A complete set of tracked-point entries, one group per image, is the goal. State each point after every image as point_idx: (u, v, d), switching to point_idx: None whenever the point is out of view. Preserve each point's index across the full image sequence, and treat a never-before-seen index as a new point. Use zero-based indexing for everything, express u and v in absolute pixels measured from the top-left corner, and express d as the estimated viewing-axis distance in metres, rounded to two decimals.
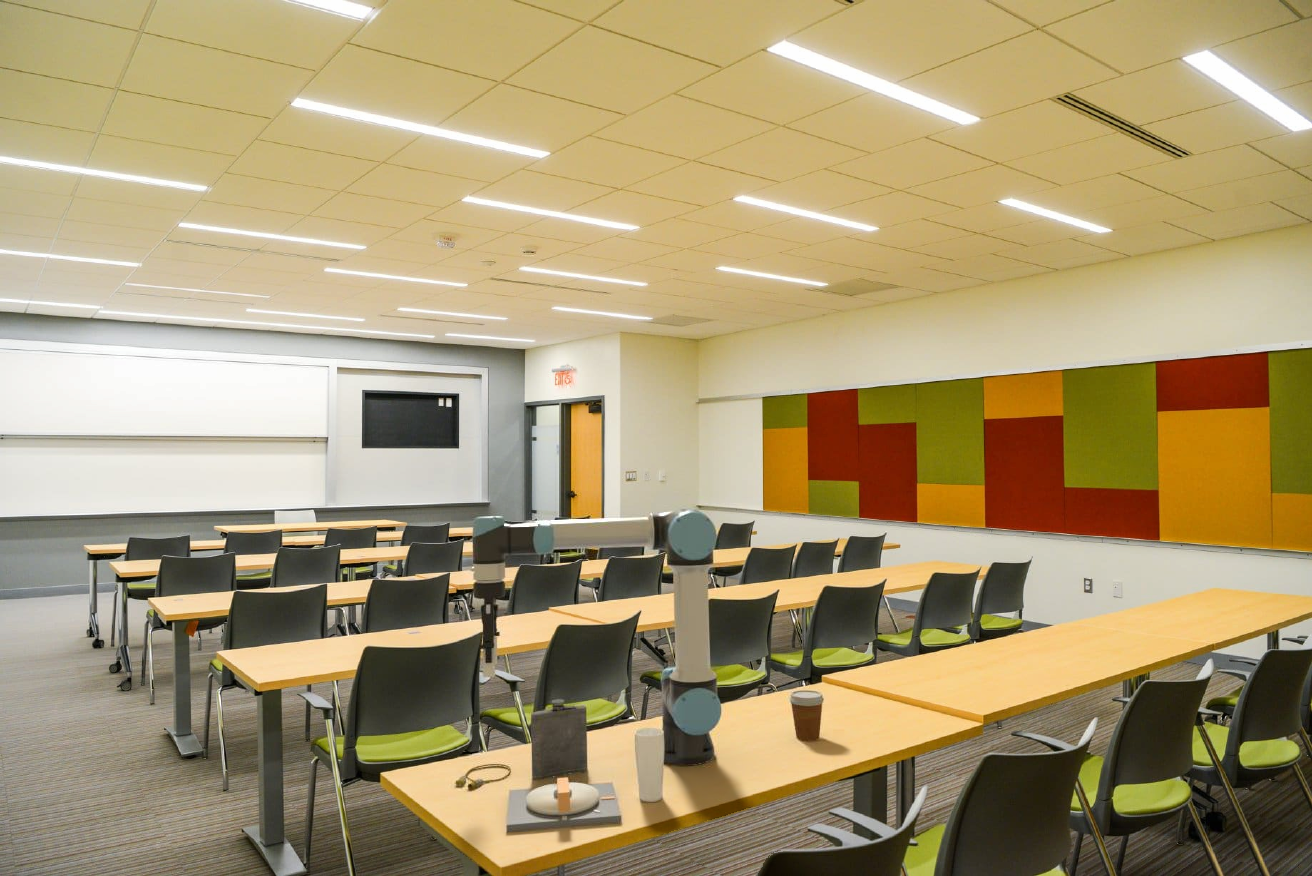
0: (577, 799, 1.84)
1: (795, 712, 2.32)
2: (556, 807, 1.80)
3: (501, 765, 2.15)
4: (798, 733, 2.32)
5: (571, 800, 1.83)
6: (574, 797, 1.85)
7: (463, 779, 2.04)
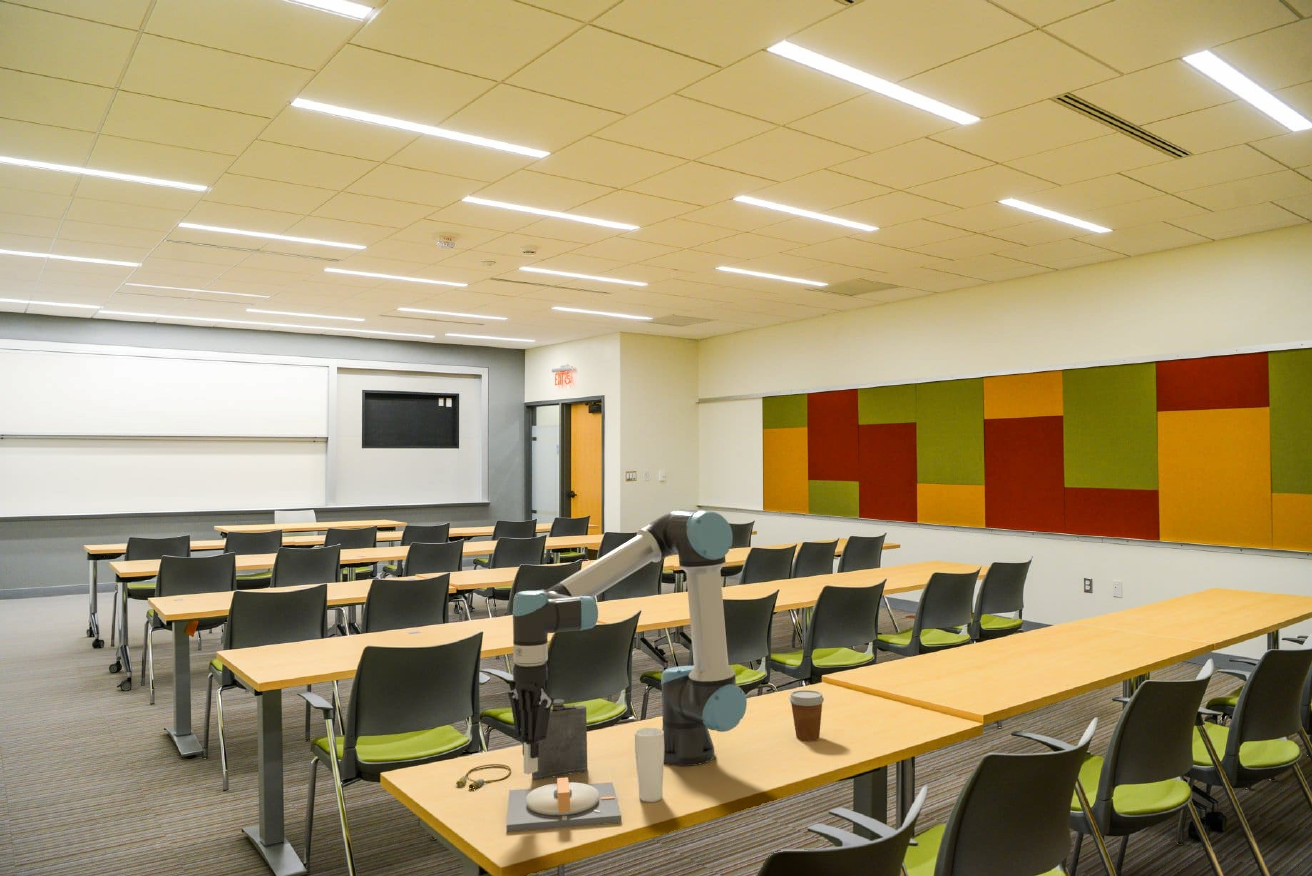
0: (577, 799, 1.84)
1: (795, 712, 2.32)
2: (556, 807, 1.80)
3: (501, 765, 2.15)
4: (798, 733, 2.32)
5: (571, 800, 1.83)
6: (574, 797, 1.85)
7: (464, 779, 2.04)
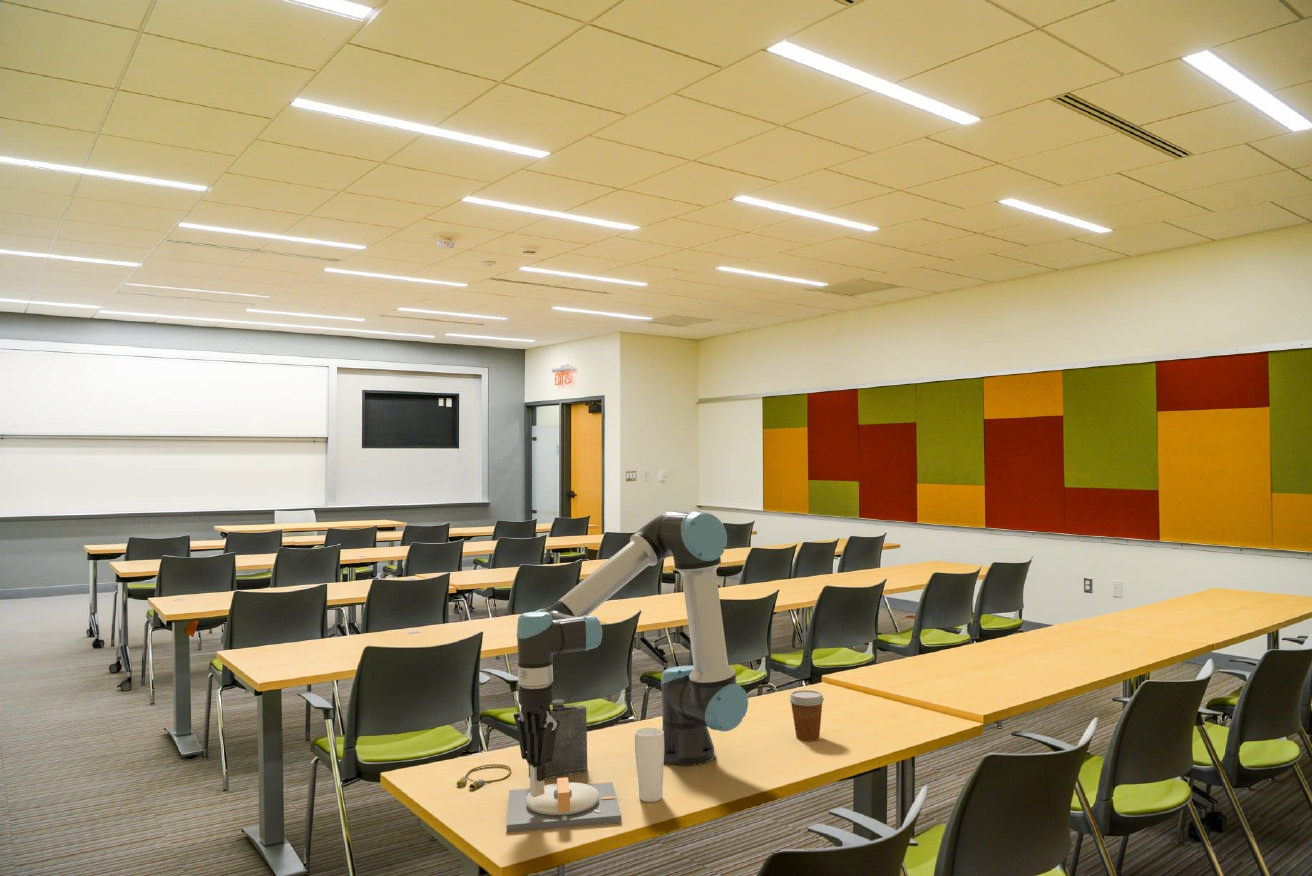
0: (577, 799, 1.84)
1: (795, 712, 2.32)
2: (556, 807, 1.80)
3: (501, 765, 2.15)
4: (798, 733, 2.32)
5: (571, 800, 1.83)
6: (574, 797, 1.85)
7: (464, 780, 2.03)
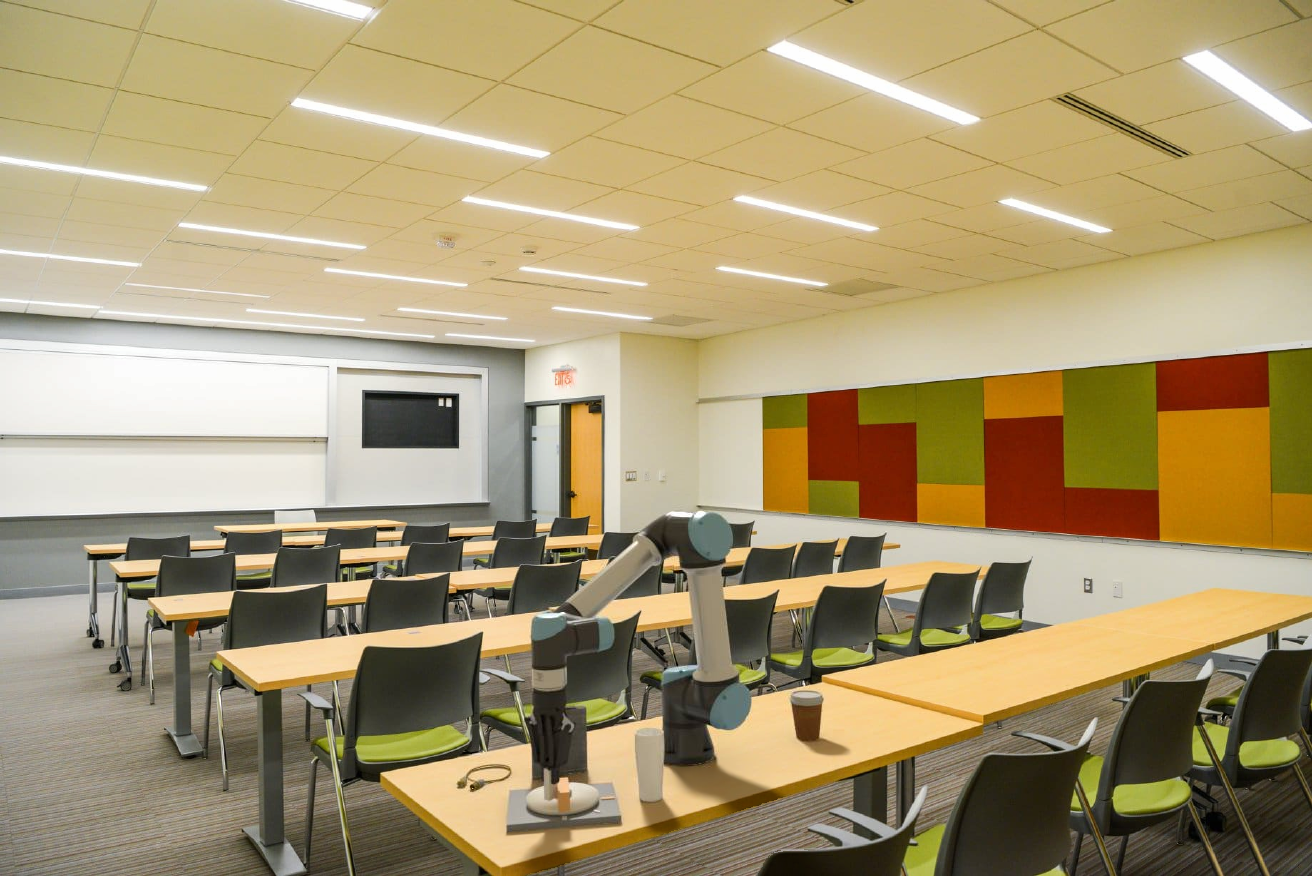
0: (577, 799, 1.84)
1: (795, 712, 2.32)
2: (556, 807, 1.80)
3: (501, 765, 2.15)
4: (798, 733, 2.32)
5: (571, 800, 1.83)
6: (574, 797, 1.85)
7: (464, 780, 2.03)
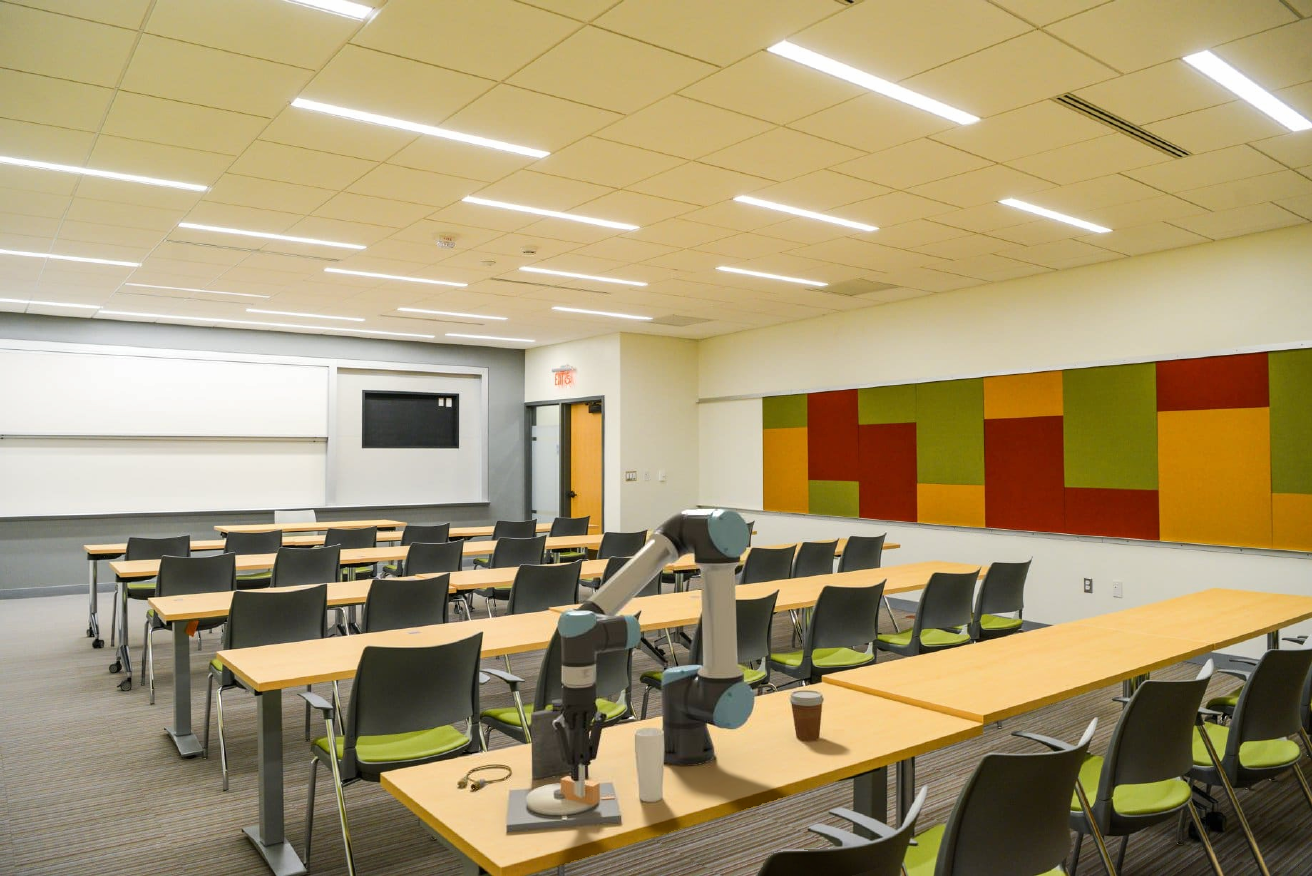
0: None
1: (795, 712, 2.32)
2: (581, 803, 1.82)
3: (501, 765, 2.15)
4: (798, 733, 2.32)
5: None
6: None
7: (465, 780, 2.03)
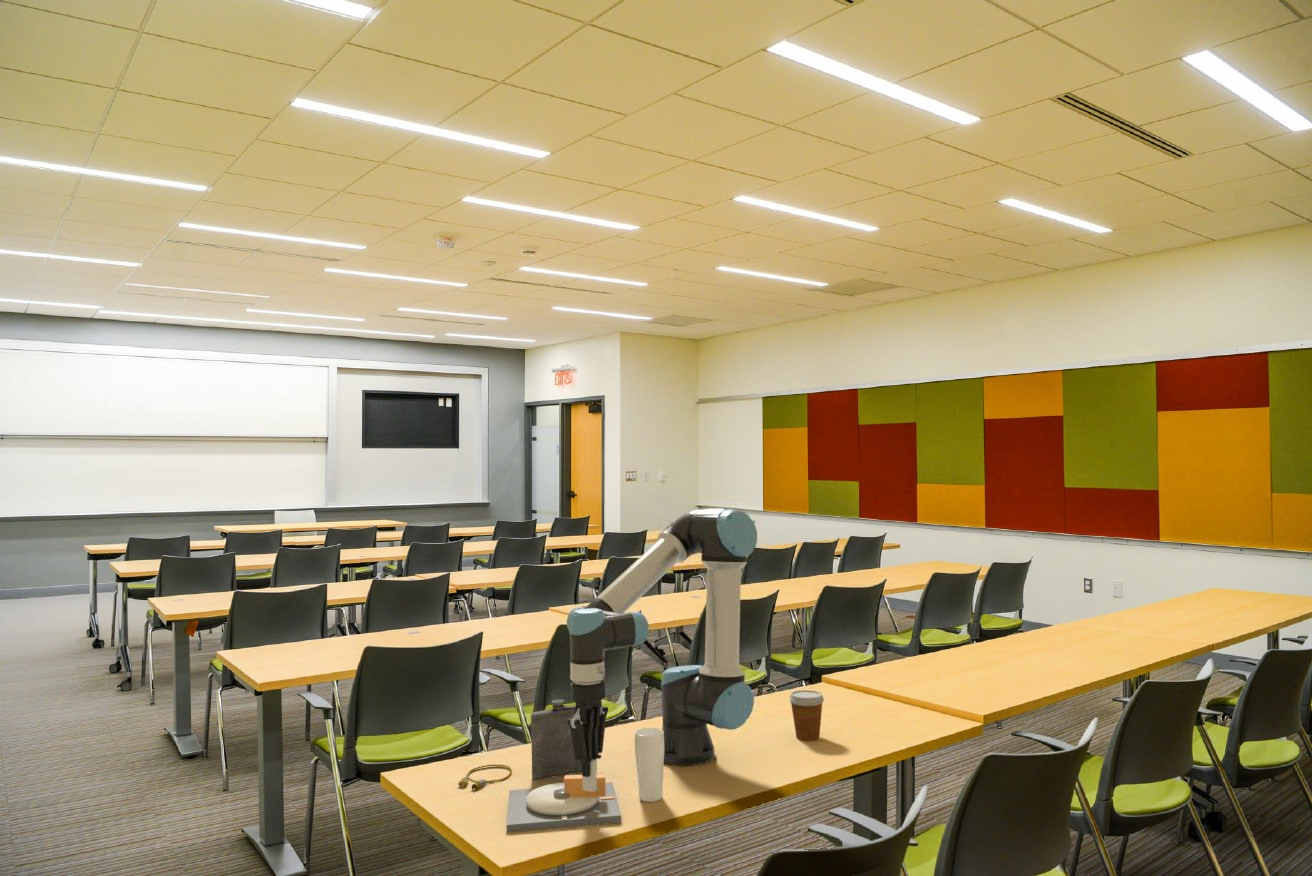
0: None
1: (795, 712, 2.32)
2: (592, 797, 1.85)
3: (501, 765, 2.15)
4: (798, 733, 2.32)
5: None
6: None
7: (466, 780, 2.03)
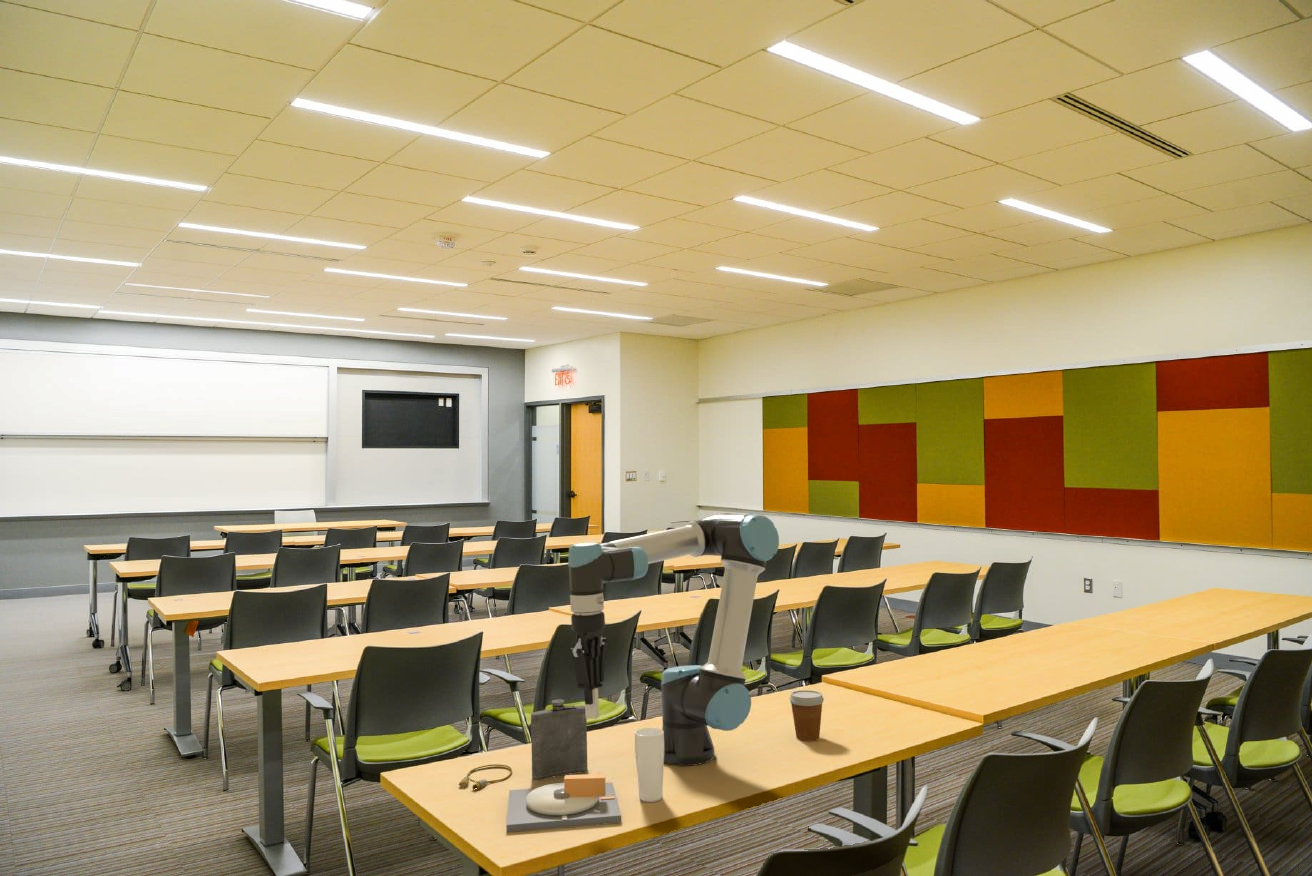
0: None
1: (795, 712, 2.32)
2: (592, 797, 1.85)
3: (501, 765, 2.15)
4: (798, 733, 2.32)
5: None
6: None
7: (466, 780, 2.03)
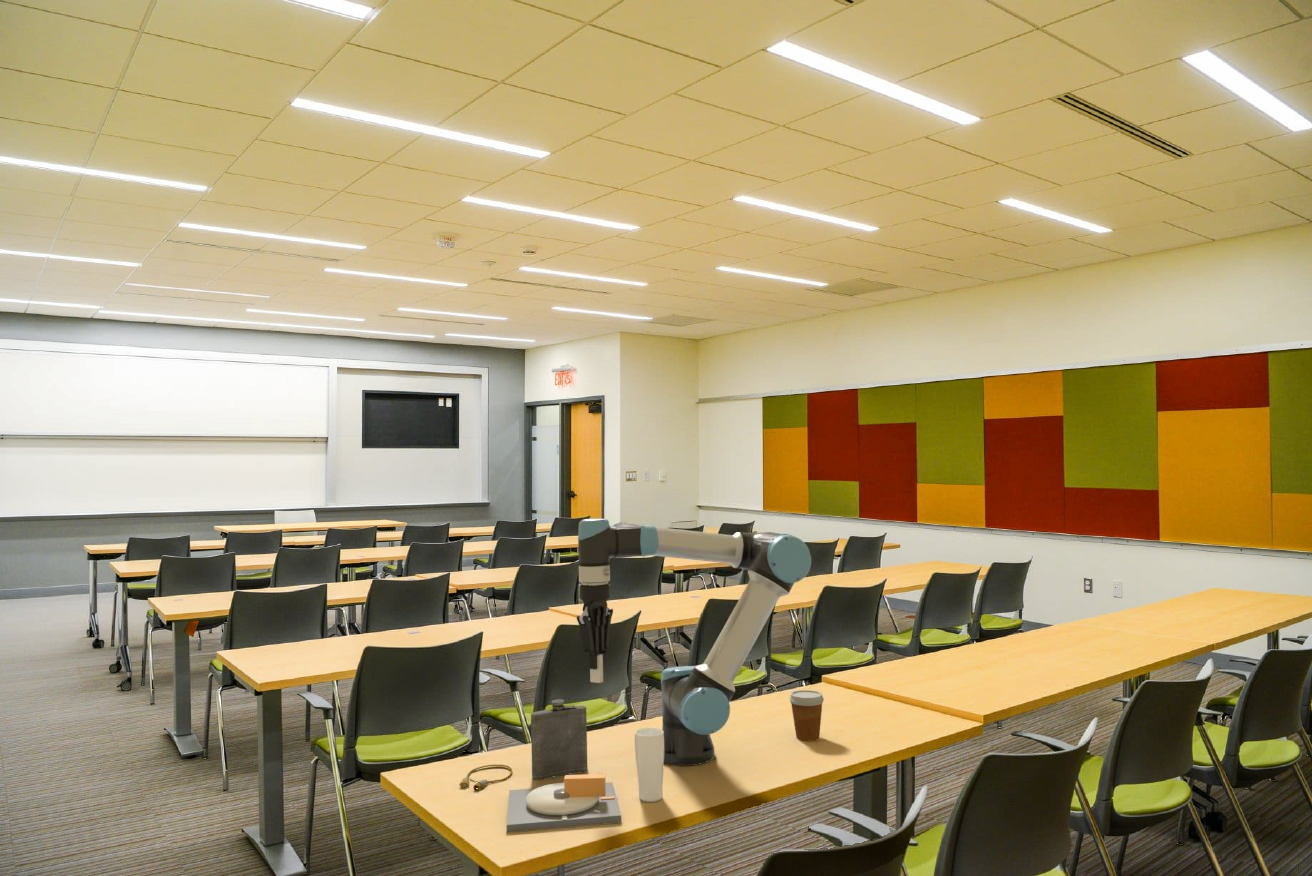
0: None
1: (795, 712, 2.32)
2: (592, 797, 1.85)
3: (501, 765, 2.15)
4: (798, 733, 2.32)
5: None
6: None
7: (467, 780, 2.03)
